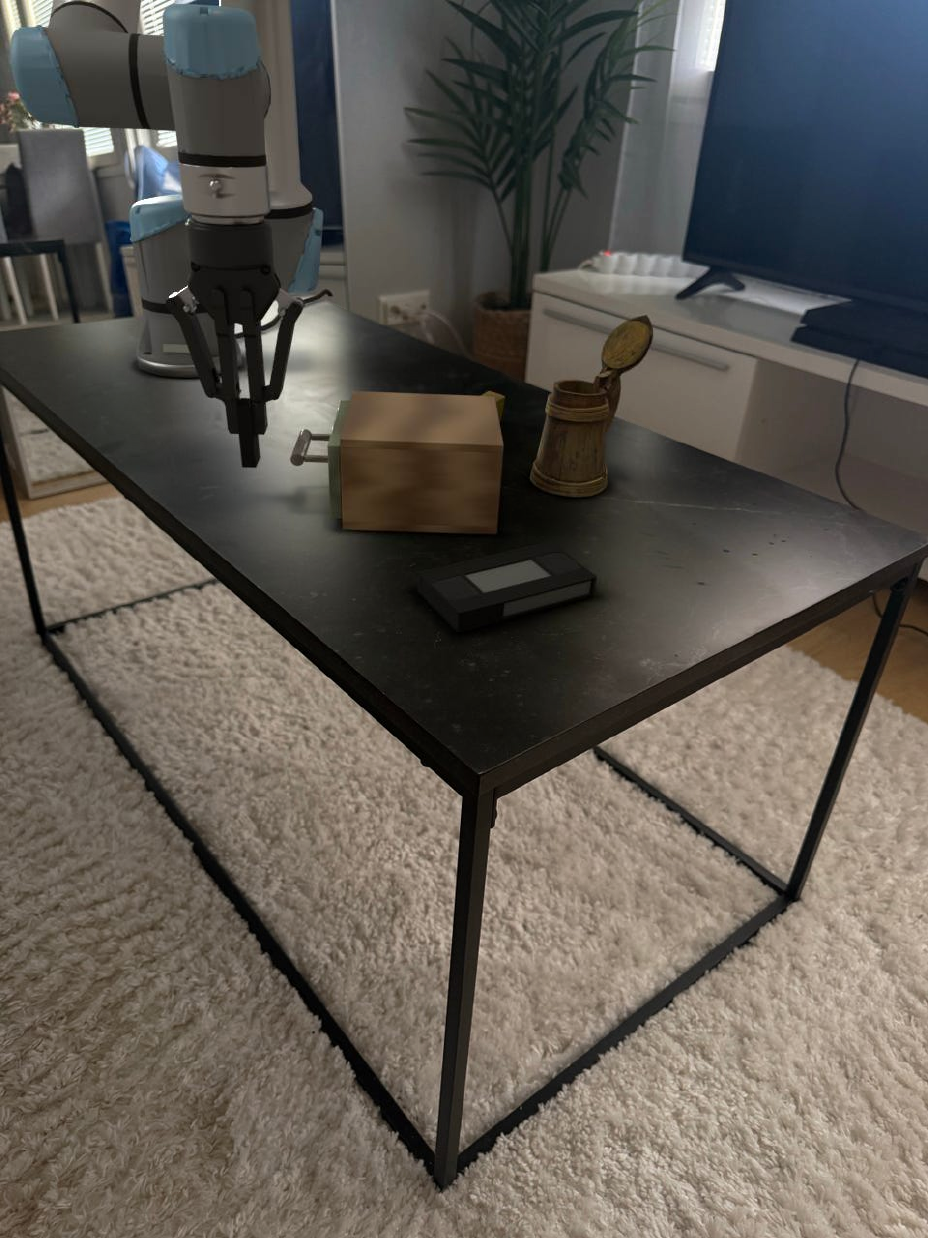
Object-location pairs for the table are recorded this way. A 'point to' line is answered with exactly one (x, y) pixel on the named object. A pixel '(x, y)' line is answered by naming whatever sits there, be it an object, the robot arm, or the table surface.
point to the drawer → (326, 457)
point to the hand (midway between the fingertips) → (251, 462)
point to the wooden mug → (587, 417)
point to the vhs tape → (505, 585)
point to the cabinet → (421, 463)
